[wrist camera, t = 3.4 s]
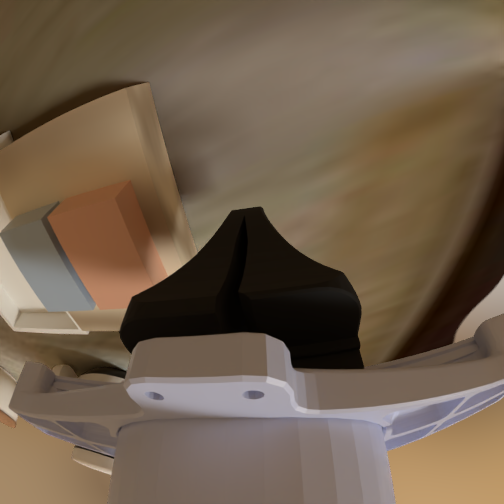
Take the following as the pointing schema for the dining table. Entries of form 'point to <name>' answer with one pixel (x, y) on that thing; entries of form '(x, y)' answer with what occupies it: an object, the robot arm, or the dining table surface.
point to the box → (25, 290)
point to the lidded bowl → (7, 398)
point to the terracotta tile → (108, 244)
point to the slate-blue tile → (45, 261)
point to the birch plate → (102, 174)
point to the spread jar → (81, 453)
